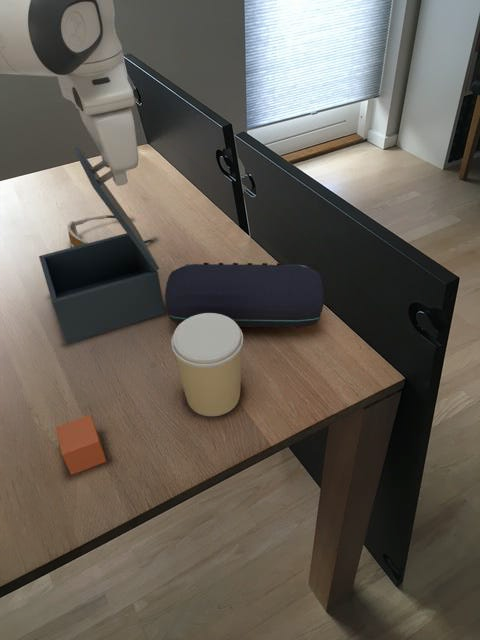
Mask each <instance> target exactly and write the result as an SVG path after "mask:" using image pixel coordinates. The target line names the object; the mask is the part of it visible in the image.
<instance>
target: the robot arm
mask: <svg viewBox="0 0 480 640" xmlns="http://www.w3.org/2000/svg"><path fill="white" fill-rule="evenodd" d="M115 11H116V10H115V5H114V0H0V75H16V76H37V77H57V81H58V84H59V85H58V86H59V88H60V92H61V95H62V98H64V99H65V100H67V101H70V102H72V104H74V106H75V108H76V109H77V110H78V111H79V115H80V118H81V121H82V124H83V125H84V126H85V128H86V130H87V132H88V133H89V135H90V137H91V138H92V140H93V142H94V144H95V145H96V147H97V149H98V150H99V153H100V155H101V161H103V160H105V161H106V162H107V164H108V165H107V166H105V168H109V169H110V171H111V172H112V176H113V177H112V180H113V183H114V184H115V185H116V186H118V187H120V186H124V185H127V184H128V182H129V181H128V176H127V171H129V170H131V171H132V170H134V169H136V168H137V167H138V164H139V150H138V142H137V141H138V140H137V133H136V126H135V120H134V119H135V118H134V114H133V111H132V108H131V107H133V106H135V105H136V100H135V95H134V91H133V88H132V85H131V83H130V81H129V76H128V71H127V67H126V63H125V56H124V51H123V47H122V43H121V41H120V39H119V36H118V34H117V31H116V27H115V26H116V25H115V15H116V12H115Z"/></svg>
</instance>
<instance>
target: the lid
mask: <svg viewBox="0 0 480 640" xmlns="http://www.w3.org/2000/svg"><path fill="white" fill-rule="evenodd" d="M73 151H74V153H75V155H76V157H77V159H78V161H79V163H80V165H81V167H82V169H83V171H84V173H85V175H86V177H87V179H88V181H89V183H90V184H91V187H92V189H93V190H94V191H95V192H96V194H97V195H98V196H99V198H100V199H101V200H102V202H103V203H104V204H105V206H106V207H107V208H108V210H109V211H110V212H111V215H114V216H115V218H116V221H117V222H118V223H119V224H120V226H121V227H122V229H123V230H124V232H125V234H126V233H127V234H128V235H129V237H130V238H131V239H132V241H133V242H134V243H135V245H136V246H137V247H138V249H139V250H140V251H141V253H142V254H143V255H144V257H145V258H146V259H147V261H148V262H149V263H150V265H151V266H152V267H153V269H154V270H155V271H157V272H158V270H160V267H159V265H158V263H157V261H156V259H155V258H154V256H153V254H152V252H151V251H150V249H149V247H148V246H147V243H145V242H144V239H143V237H142V235H141V233H140V232H139V230H138V228H137V226H136V225H135V224H134V223H133V221H132V219H131V218H130V217H129V215H128V214H127V213H126V211H125V210H124V208H123V207H122V206H121V205H120V203H119V201H118V200H117V199H116V197H115V196H114V194H113V193H112V192H111V190H110V189H109V187H108V186H107V185H106V184H105V183H106V182H107V181H110V180H111V179H113V176H112V172H111V170H109V171H108V172H106V173H104V174H103V175H102V176H100V175H99V174H98V172H99V171H101V170H102V169H103V168H106V166H107V165H108V164H107V162H106V161H105V160H101V161H100V162H99V163H97V164H95V165H92V164H91V162H90V160H89V159H88V158H87V157H86V156H85V154H84V153H83V151H82V150H81V149H80V147H79V146H77V147H75V148H74V149H73ZM115 218H114V219H115ZM130 219H131V220H130Z"/></svg>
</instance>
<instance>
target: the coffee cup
mask: <svg viewBox="0 0 480 640" xmlns="http://www.w3.org/2000/svg"><path fill="white" fill-rule="evenodd" d="M243 334H244V333H243V332H242V329H241V328H240V327H239V326H238V325H237V324H236V323H235V322H234V321H233V320H232V319H231V318H229V317H227V316H224V315H221V314H216V313H203V314H198V315H195V316H192V317H190V318H188V319H186V320H184V321H183V322H182V323H181V324H178V325H177V327H176V328H175V330H174V332H173V334H172V337H171V343H170V344H171V350H172V352H173V354H174V358H175V361H176V365H177V369H178V373H179V377H180V380H181V385H182V387H183V392H184V395H185V399H186V401H187V404H188V407H190V408H191V410H193V412H195V413H197V414H199V415H201V416H205V417H218V416H222V415H225V414H227V413H229V412H231V411H232V410H233V409H234V408H235V407H236V406H237V405H238V402H239V401H240V397H241V385H242V366H243V365H242V363H243V345H244V335H243Z"/></svg>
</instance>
